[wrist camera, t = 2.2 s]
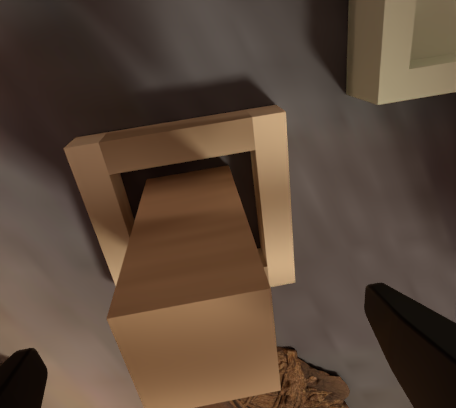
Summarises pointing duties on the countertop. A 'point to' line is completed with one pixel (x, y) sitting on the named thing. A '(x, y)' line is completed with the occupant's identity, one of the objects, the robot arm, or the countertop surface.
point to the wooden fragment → (296, 388)
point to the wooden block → (194, 296)
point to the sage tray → (400, 49)
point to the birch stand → (183, 152)
